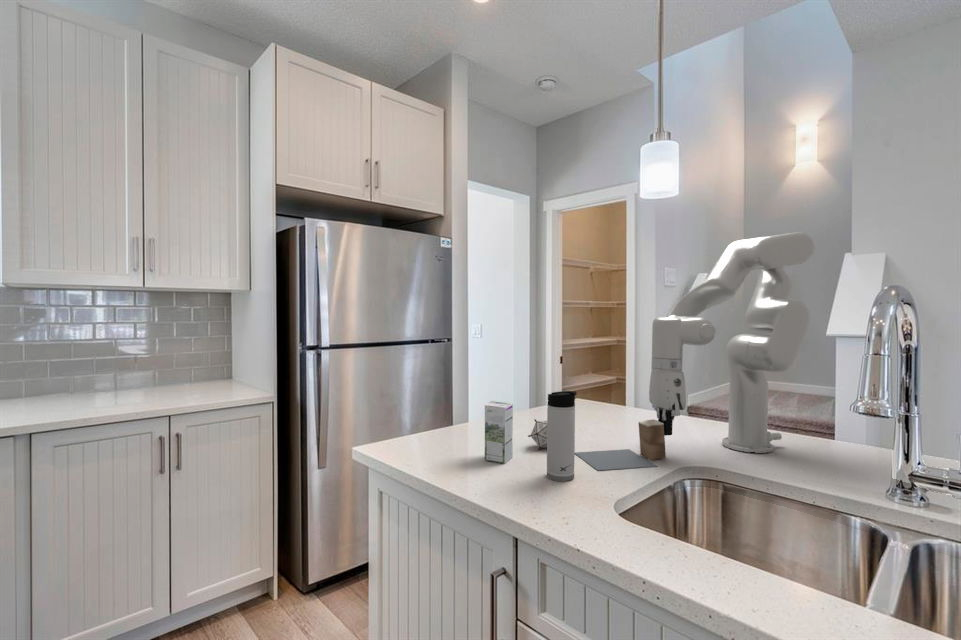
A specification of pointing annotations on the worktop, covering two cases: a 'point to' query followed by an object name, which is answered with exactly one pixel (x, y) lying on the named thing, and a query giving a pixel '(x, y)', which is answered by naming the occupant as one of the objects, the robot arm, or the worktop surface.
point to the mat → (614, 459)
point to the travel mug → (561, 435)
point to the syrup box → (498, 431)
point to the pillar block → (652, 439)
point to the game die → (540, 433)
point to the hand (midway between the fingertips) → (664, 434)
